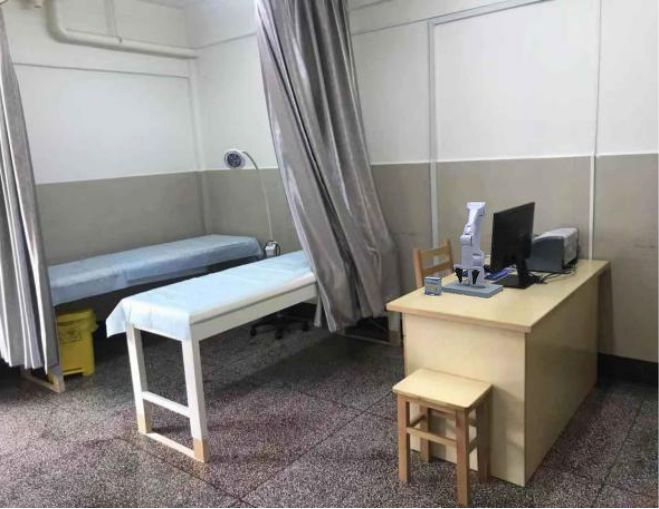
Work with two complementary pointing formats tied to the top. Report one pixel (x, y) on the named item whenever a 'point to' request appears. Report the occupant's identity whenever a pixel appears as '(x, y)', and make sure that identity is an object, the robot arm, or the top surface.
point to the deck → (472, 288)
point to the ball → (467, 282)
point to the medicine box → (433, 285)
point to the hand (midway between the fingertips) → (467, 283)
